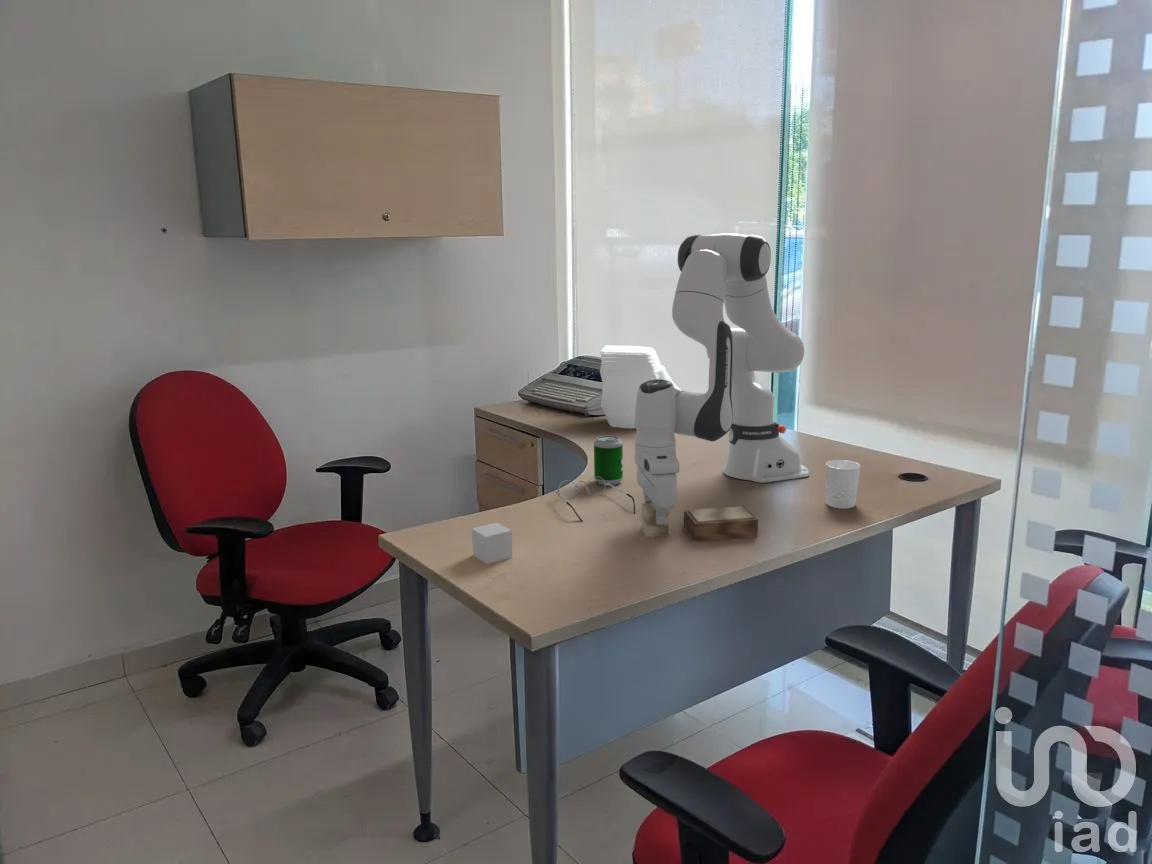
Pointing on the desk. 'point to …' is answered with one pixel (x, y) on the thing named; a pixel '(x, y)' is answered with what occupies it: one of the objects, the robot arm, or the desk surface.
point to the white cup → (841, 483)
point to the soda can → (608, 460)
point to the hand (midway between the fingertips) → (654, 516)
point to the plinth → (720, 523)
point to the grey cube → (492, 543)
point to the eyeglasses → (589, 493)
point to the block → (653, 521)
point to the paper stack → (626, 380)
